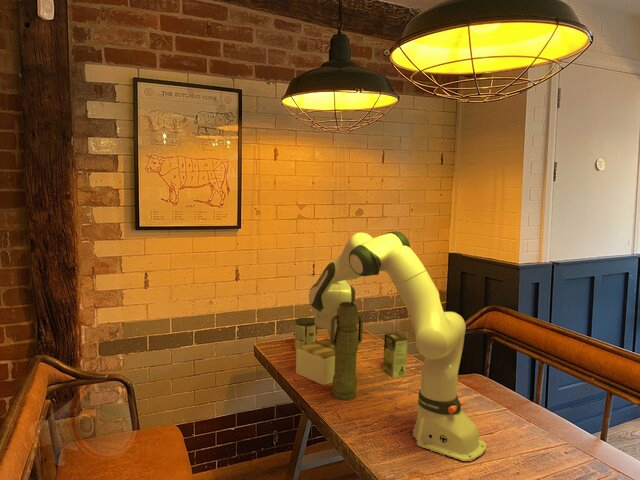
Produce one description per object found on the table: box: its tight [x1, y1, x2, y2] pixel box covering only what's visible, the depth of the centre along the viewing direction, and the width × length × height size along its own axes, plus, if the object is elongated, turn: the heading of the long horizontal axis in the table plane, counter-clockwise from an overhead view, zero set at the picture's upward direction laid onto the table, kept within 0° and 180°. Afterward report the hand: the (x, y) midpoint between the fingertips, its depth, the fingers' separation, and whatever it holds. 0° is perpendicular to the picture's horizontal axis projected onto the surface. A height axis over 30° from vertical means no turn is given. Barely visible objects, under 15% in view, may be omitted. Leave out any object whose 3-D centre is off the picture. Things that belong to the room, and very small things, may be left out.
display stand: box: [295, 349, 335, 386], centre depth 202 cm, size 16×18×10 cm
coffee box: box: [382, 331, 409, 379], centre depth 204 cm, size 9×6×16 cm
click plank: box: [316, 337, 334, 349], centre depth 204 cm, size 14×7×1 cm, turn 46°
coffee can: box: [294, 317, 318, 352], centre depth 228 cm, size 10×10×14 cm
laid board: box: [300, 342, 335, 359], centre depth 198 cm, size 14×8×2 cm, turn 46°
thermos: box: [331, 302, 364, 401], centre depth 180 cm, size 9×12×35 cm
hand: (333, 340), depth 208 cm, fingers closed, pressing on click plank
